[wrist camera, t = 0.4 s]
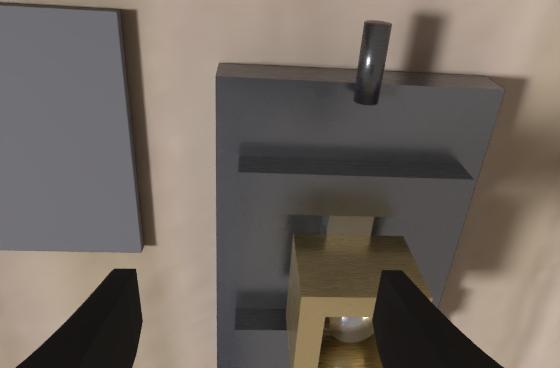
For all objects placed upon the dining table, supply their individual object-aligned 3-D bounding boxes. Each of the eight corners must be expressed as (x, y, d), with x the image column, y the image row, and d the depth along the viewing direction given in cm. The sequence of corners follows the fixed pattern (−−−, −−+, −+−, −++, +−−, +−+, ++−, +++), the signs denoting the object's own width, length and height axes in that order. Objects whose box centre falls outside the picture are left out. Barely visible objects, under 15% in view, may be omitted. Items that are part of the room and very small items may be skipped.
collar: (384, 316, 24) (407, 385, 20) (285, 316, 23) (291, 385, 20) (403, 235, 21) (432, 298, 18) (293, 233, 21) (301, 297, 17)
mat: (143, 245, 25) (141, 252, 24) (-53, 242, 24) (-60, 249, 24) (120, 9, 19) (116, 11, 19) (-141, -6, 18) (-152, -3, 18)
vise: (407, 350, 30) (442, 450, 24) (219, 350, 29) (211, 453, 24) (500, 18, 20) (598, 57, 14) (218, 2, 19) (204, 37, 13)
